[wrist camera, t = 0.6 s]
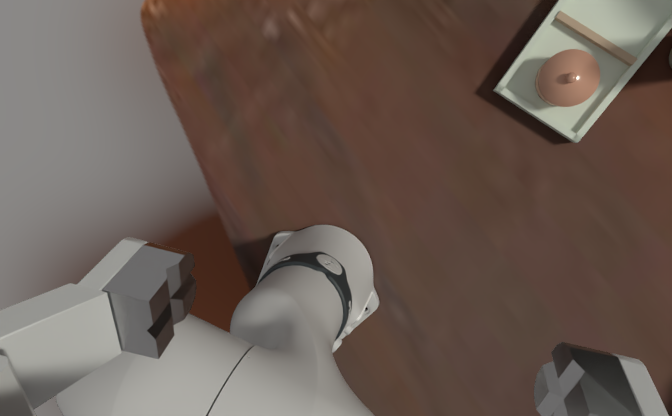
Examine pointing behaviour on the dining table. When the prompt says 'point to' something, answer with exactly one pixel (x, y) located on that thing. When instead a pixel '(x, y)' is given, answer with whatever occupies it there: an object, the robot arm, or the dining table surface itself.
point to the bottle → (670, 58)
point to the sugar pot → (568, 78)
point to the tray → (594, 38)
